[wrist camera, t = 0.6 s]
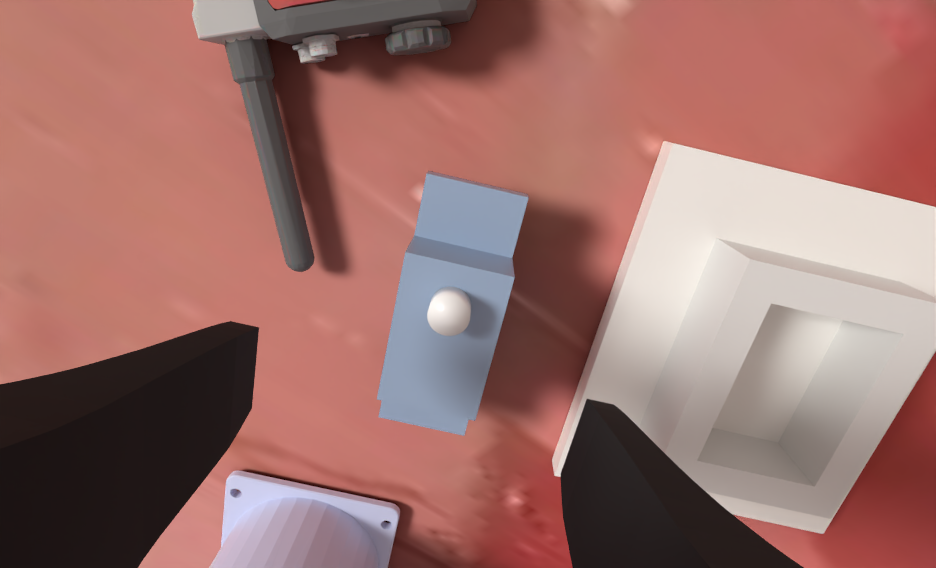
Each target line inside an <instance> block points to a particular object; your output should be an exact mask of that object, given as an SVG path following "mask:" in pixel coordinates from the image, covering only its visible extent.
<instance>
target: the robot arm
mask: <svg viewBox="0 0 936 568" xmlns="http://www.w3.org/2000/svg"><path fill="white" fill-rule="evenodd" d="M258 332H259V327H254V326H250V325H245V324H240V323H236V322H231V321H230V322H226V323H221V324H217V325H214V326H211V327H207V328H204V329H201V330H198V331H195V332H192V333H189V334H186V335H183V336H180V337H177V338H174V339H171V340H168V341H165V342H162V343H159V344H156V345H153V346H150V347H147V348H144V349H140V350H137V351H134V352H130V353H127V354H123V355H120V356H117V357H113V358H110V359H106V360H103V361H99V362H96V363H93V364H89V365H86V366H82V367H78V368H74V369H70V370H66V371H62V372H58V373H53V374H49V375H44V376H40V377H35V378H30V379H26V380H21V381H16V382H11V383H6V384H0V568H138V566H139V565H140V563H141V562H142V560H143V559H144V557H145V556H146V555H147V553H148V552H149V550H150V549H151V548H152V546H153V545H154V544H155V542H156V541H157V539H158V538H159V537H160V535H161V534H162V533H163V532H164V530H165V529H166V528H167V527H168V525H169V524H170V523H171V521H172V520H173V519H174V518H175V516H176V515H177V514H178V513H179V511H180V510H181V509H182V507H183V506H184V505H185V504H186V502H187V501H188V500H189V498H190V497H191V496H192V495H193V493H194V492H195V491H196V490H197V488H198V487H199V486H200V485H201V483H202V482H203V481H204V479H205V478H206V477H207V476H208V474H209V473H210V472H211V470H212V469H213V468H214V466H215V465H216V464H217V463H218V461H219V460H220V459H221V457H222V456H223V455H224V453H225V452H226V451H227V449H228V448H229V447H230V445H231V443H232V442H233V440H234V438H235V437H236V435H237V433H238V432H239V430H240V428H241V426H242V425H243V423H244V421H245V419H246V418H247V416H248V414H249V412H250V410H251V409H252V399H253V388H254V377H255V365H256V354H257V343H258ZM236 489H238V490H240V491H241V492H239V491H237V490H236ZM561 492H562V508H563V519H564V524H565V530H566V535H567V540H568V545H569V550H570V556H571V561H572V566H573V568H803V567H802V566H800V565H799V564H798V563H796V562H795V561H793V560H792V559H790V558H789V557H787V556H786V555H785V554H783V553H782V552H780V551H779V550H778V549H776V548H775V547H773V546H772V545H771V544H769V543H768V542H767V541H765V540H764V539H763V538H762V537H760V536H759V535H758V534H756V533H755V532H754V531H753V530H751V529H750V528H749V527H747V526H746V525H745V524H744V523H742V522H741V521H740V520H738V519H737V518H736V517H735V516H733V515H732V514H731V513H730V512H729V511H727V510H726V509H725V508H724V507H723V506H721V505H720V504H719V503H718V502H717V501H716V500H715V499H713V498H712V497H711V496H710V495H709V494H708V493H707V492H706V491H704V490H703V489H702V488H701V487H700V486H699V485H698V484H697V483H695V482H694V481H693V480H692V479H691V478H690V477H689V476H688V475H687V474H686V473H685V472H684V471H683V470H682V469H680V468H679V467H678V466H677V465H676V464H675V463H674V462H673V461H672V460H671V459H670V458H669V457H668V456H667V455H666V454H665V453H664V452H663V451H662V450H661V449H660V448H659V447H658V446H657V445H656V444H655V443H654V442H653V441H652V440H651V439H650V438H649V437H648V436H647V435H646V434H645V433H644V432H643V431H642V430H641V429H640V428H639V427H638V426H637V425H636V424H635V423H634V422H633V421H632V420H631V419H630V418H629V417H628V416H627V415H626V414H625V413H624V412H622V411H621V410H620V409H619V408H618V407H617V406H615V405H614V404H609V403H605V402H600V401H595V400H591V399H587V400H586V403H585V405H584V408H583V411H582V414H581V417H580V420H579V423H578V425H577V428H576V431H575V434H574V437H573V440H572V443H571V445H570V448H569V451H568V454H567V457H566V460H565V463H564V465H563V468H562V471H561ZM399 517H400V509H399V507H398V506H397V505H396V504H393V503H390V502H385V501H380V500H376V499H371V498H366V497H362V496H357V495H352V494H348V493H343V492H338V491H334V490H329V489H324V488H320V487H315V486H310V485H305V484H301V483H296V482H291V481H287V480H282V479H277V478H273V477H268V476H263V475H259V474H254V473H249V472H244V471H233V472H232V473H231V474H230V475H229V477H228V478H227V481H226V490H225V503H224V515H223V528H222V541H221V549H220V550H219V552H218V554H217V555H216V557H215V559H214V560H213V562H212V564H211V565H210V567H209V568H388V564H389V560H390V555H391V551H392V547H393V542H394V538H395V534H396V530H397V525H398V521H399ZM384 521H389V522H391V523H386V522H384Z"/></svg>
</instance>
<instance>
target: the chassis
mask: <svg viewBox="0 0 936 568" xmlns="http://www.w3.org/2000/svg"><path fill="white" fill-rule="evenodd" d="M935 352H936V207H933V206H929V205H925V204H921V203H917V202H913V201H909V200H905V199H900V198H896V197H892V196H888V195H884V194H880V193H876V192H872V191H868V190H863V189H859V188H855V187H851V186H847V185H843V184H839V183H835V182H831V181H827V180H822V179H818V178H814V177H810V176H806V175H802V174H798V173H794V172H790V171H785V170H781V169H777V168H773V167H769V166H765V165H761V164H757V163H753V162H749V161H744V160H740V159H736V158H732V157H728V156H724V155H720V154H716V153H712V152H707V151H703V150H699V149H695V148H691V147H687V146H683V145H679V144H675V143H670V142H666V141H663V144H662V147H661V150H660V153H659V155H658V158H657V161H656V164H655V167H654V170H653V173H652V175H651V178H650V181H649V184H648V187H647V190H646V193H645V195H644V198H643V201H642V204H641V207H640V210H639V213H638V215H637V218H636V221H635V224H634V227H633V230H632V233H631V235H630V238H629V241H628V244H627V247H626V250H625V253H624V255H623V258H622V261H621V264H620V267H619V270H618V273H617V275H616V278H615V281H614V284H613V287H612V290H611V293H610V295H609V298H608V301H607V304H606V307H605V310H604V313H603V315H602V318H601V321H600V324H599V327H598V330H597V333H596V335H595V338H594V341H593V344H592V347H591V350H590V353H589V355H588V358H587V361H586V364H585V367H584V370H583V373H582V375H581V378H580V381H579V384H578V387H577V390H576V393H575V395H574V398H573V401H572V404H571V407H570V410H569V413H568V415H567V418H566V421H565V424H564V427H563V430H562V433H561V435H560V438H559V441H558V444H557V447H556V450H555V453H554V455H553V458H552V463H553V470H554V476H559V477H561V471H562V468H563V465H564V463H565V460H566V457H567V454H568V451H569V448H570V445H571V443H572V440H573V437H574V434H575V431H576V428H577V425H578V423H579V420H580V417H581V414H582V411H583V408H584V405H585V403H586V400H587V399H591V400H595V401H600V402H605V403H609V404H614V405H615V406H617V407H618V408H619V409H620V410H621V411H622V412H624V413H625V414H626V415H627V416H628V417H629V418H630V419H631V420H632V421H633V422H634V423H635V424H636V425H637V426H638V427H639V428H640V429H641V430H642V431H643V432H644V433H645V434H646V435H647V436H648V437H649V438H650V439H651V440H652V441H653V442H654V443H655V444H656V445H657V446H658V447H659V448H660V449H661V450H662V451H663V452H664V453H665V454H666V455H667V456H668V457H669V458H670V459H671V460H672V461H673V462H674V463H675V464H676V465H677V466H678V467H679V468H680V469H682V470H683V471H684V472H685V473H686V474H687V475H688V476H689V477H690V478H691V479H692V480H693V481H694V482H695V483H697V484H698V485H699V486H700V487H701V488H702V489H703V490H704V491H706V492H707V493H708V494H709V495H710V496H711V497H712V498H713V499H715V500H716V501H717V502H718V503H719V504H720V505H721V506H723V507H724V508H725V509H726V510H727V511H729V512H730V513H731V514H733V515H738V516H742V517H747V518H751V519H756V520H761V521H765V522H770V523H774V524H779V525H784V526H788V527H793V528H797V529H802V530H807V531H811V532H816V533H820V534H824V532H825V530H826V529H827V527H828V525H829V524H830V522H831V521H832V519H833V517H834V516H835V514H836V512H837V511H838V509H839V508H840V506H841V504H842V503H843V501H844V499H845V498H846V496H847V495H848V493H849V491H850V490H851V488H852V486H853V485H854V483H855V482H856V480H857V478H858V477H859V475H860V473H861V472H862V470H863V469H864V467H865V465H866V464H867V462H868V460H869V459H870V457H871V456H872V454H873V452H874V451H875V449H876V447H877V446H878V444H879V443H880V441H881V439H882V438H883V436H884V434H885V433H886V431H887V430H888V428H889V426H890V425H891V423H892V421H893V420H894V418H895V417H896V415H897V413H898V412H899V410H900V408H901V407H902V405H903V404H904V402H905V400H906V399H907V397H908V395H909V394H910V392H911V391H912V389H913V387H914V386H915V384H916V382H917V381H918V379H919V378H920V376H921V374H922V373H923V371H924V369H925V368H926V366H927V365H928V363H929V361H930V360H931V358H932V356H933V355H934V353H935Z"/></svg>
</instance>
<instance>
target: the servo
mask: <svg viewBox="0 0 936 568" xmlns="http://www.w3.org/2000/svg"><path fill="white" fill-rule="evenodd" d="M528 198H529V197H528V194H525V193H521V192H517V191H512V190H508V189H504V188H500V187H496V186H491V185H487V184H483V183H479V182H474V181H470V180H466V179H462V178H458V177H453V176H449V175H445V174H441V173H436V172H432V171H428V172H427V174H426V179H425V184H424V190H423V195H422V200H421V205H420V210H419V215H418V220H417V225H416V230H415V235H414V237H413V239H412V241H411V243H410V245H409V246H408V248H407V250H406V252H405V257H404V262H403V267H402V272H401V277H400V282H399V288H398V293H397V298H396V303H395V308H394V314H393V319H392V324H391V329H390V334H389V339H388V345H387V350H386V355H385V360H384V365H383V370H382V376H381V381H380V386H379V391H378V396H377V399H378V400H382V402H381V407H380V413H379V417H380V418H385V419H390V420H394V421H399V422H403V423H408V424H413V425H417V426H422V427H427V428H431V429H436V430H440V431H445V432H450V433H454V434H459V435H463V436H464V434H465V431H466V427H467V423H468V420H474V421H475V420H476V416H477V412H478V409H479V405H480V401H481V398H482V394H483V391H484V387H485V383H486V380H487V376H488V373H489V369H490V365H491V362H492V358H493V354H494V351H495V347H496V344H497V340H498V336H499V333H500V329H501V326H502V322H503V318H504V315H505V311H506V307H507V304H508V300H509V297H510V293H511V289H512V286H513V282H514V278H515V275H514V267H513V260H512V257H513V254H514V250H515V246H516V242H517V239H518V235H519V231H520V228H521V224H522V220H523V217H524V213H525V209H526V206H527V202H528Z"/></svg>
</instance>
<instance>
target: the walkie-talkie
mask: <svg viewBox="0 0 936 568" xmlns="http://www.w3.org/2000/svg"><path fill="white" fill-rule="evenodd" d="M193 2H194V8H193V12H192V17H193V20H194V24H195V27H196V31H197V34H198V38H199V39H200V40H203V41H208V42H213V43H218V44H223V45H225V48H226V52H227V56H228V59H229V63H230V67H231V71H232V75H233V79H234V81H235V82H237V83H238V84H240V88H241V91H242V95H243V99H244V103H245V107H246V111H247V114H248V118H249V122H250V126H251V130H252V134H253V138H254V141H255V145H256V149H257V153H258V157H259V161H260V165H261V168H262V172H263V176H264V180H265V184H266V188H267V191H268V195H269V199H270V203H271V207H272V211H273V215H274V218H275V222H276V226H277V230H278V234H279V238H280V242H281V245H282V249H283V253H284V257H285V261H286V264H287V265H288V267H289V268H291V269H292V270H294V271H298V272H303V271H306V270H308V269H309V268H310V267H311V266H312V265H313V263H314V254H313V250H312V245H311V241H310V237H309V233H308V229H307V225H306V220H305V216H304V212H303V208H302V204H301V200H300V195H299V191H298V187H297V183H296V179H295V174H294V170H293V166H292V162H291V158H290V154H289V149H288V145H287V141H286V137H285V133H284V129H283V124H282V120H281V116H280V112H279V108H278V103H277V99H276V95H275V91H274V87H273V83H272V80H273V78H274V76H275V74H274V69H273V65H272V61H271V57H270V52H269V48H268V44H267V39H270V38H272V39H273V40H277V41H280V42H284V43H288V44H292V45H294V46H292V48H293V50H296V51H298V54H299V58H300V62H301V63H316V62H321V61H324V60H325V57H329V56H334V55H337V49H336V42H335V41H341V40H348V39H354V38H361V37H367V36H374V35H381V34H387V33H390V34H389V35H388V36H387V37H386V38H385V43H386V49H387V51H388V52H389V53H390V54H391V55H412V54H420V53H427V52H432V51H436V50H441V49H445V48H447V47H449V45H450V44H451V36H450V31H449V29H447V28H446V27H444V26H441V25H447V24H454V23H459V22H466V21H469V20H470V18H471V16H472V14H473V12H474V10H475V8H476V6H477V2H476V0H193Z"/></svg>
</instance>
